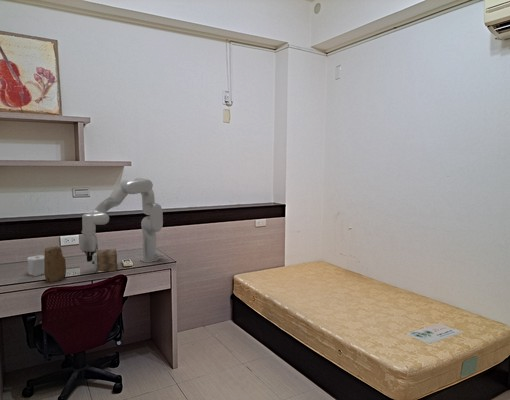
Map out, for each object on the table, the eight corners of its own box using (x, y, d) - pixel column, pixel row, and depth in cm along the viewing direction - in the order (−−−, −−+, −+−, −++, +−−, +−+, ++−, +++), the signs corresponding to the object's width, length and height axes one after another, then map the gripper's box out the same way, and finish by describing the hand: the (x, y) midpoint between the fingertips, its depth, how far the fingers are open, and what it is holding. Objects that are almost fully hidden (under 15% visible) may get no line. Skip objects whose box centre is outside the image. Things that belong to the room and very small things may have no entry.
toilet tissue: (43, 269, 243) (42, 254, 241) (51, 273, 235) (50, 258, 234) (25, 272, 234) (24, 257, 233) (32, 277, 227) (32, 261, 226)
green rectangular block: (96, 264, 253) (96, 250, 252) (96, 270, 240) (96, 256, 239) (92, 264, 252) (91, 251, 251) (92, 271, 239) (91, 256, 238)
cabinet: (116, 264, 257) (115, 248, 256) (117, 270, 245) (116, 254, 243) (97, 266, 253) (96, 250, 251) (97, 272, 240) (96, 255, 238)
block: (46, 283, 218) (45, 249, 216) (44, 279, 224) (42, 247, 221) (67, 279, 225) (66, 247, 223) (63, 276, 231) (62, 244, 228)
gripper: (74, 233, 235) (75, 261, 237) (96, 235, 232) (96, 263, 234) (82, 231, 242) (83, 258, 244) (103, 232, 239) (103, 260, 241)
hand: (89, 261), depth 239 cm, fingers closed
